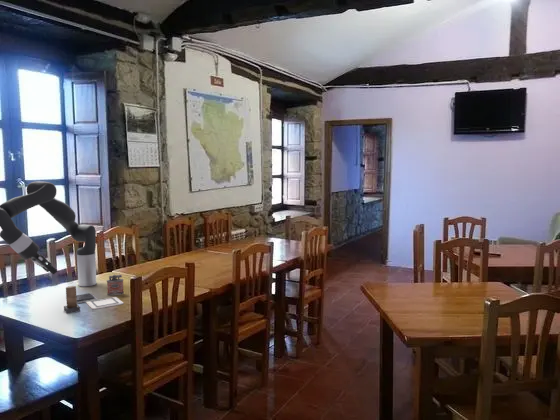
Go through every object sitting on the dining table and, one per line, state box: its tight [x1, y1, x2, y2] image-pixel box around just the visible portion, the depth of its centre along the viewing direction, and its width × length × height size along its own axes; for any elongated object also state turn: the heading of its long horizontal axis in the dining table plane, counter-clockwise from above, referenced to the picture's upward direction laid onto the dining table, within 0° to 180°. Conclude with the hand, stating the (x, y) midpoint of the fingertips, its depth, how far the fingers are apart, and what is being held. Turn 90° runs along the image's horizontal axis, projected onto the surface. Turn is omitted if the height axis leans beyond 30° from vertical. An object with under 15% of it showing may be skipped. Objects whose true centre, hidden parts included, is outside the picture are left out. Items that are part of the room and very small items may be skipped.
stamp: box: [63, 285, 81, 315], centre depth 207 cm, size 6×6×11 cm
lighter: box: [106, 274, 125, 296], centre depth 233 cm, size 8×3×10 cm, turn 106°
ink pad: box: [76, 293, 98, 305], centre depth 224 cm, size 11×11×1 cm
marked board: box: [85, 296, 124, 310], centre depth 218 cm, size 12×14×1 cm
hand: (52, 271), depth 200 cm, fingers open, 8 cm apart
